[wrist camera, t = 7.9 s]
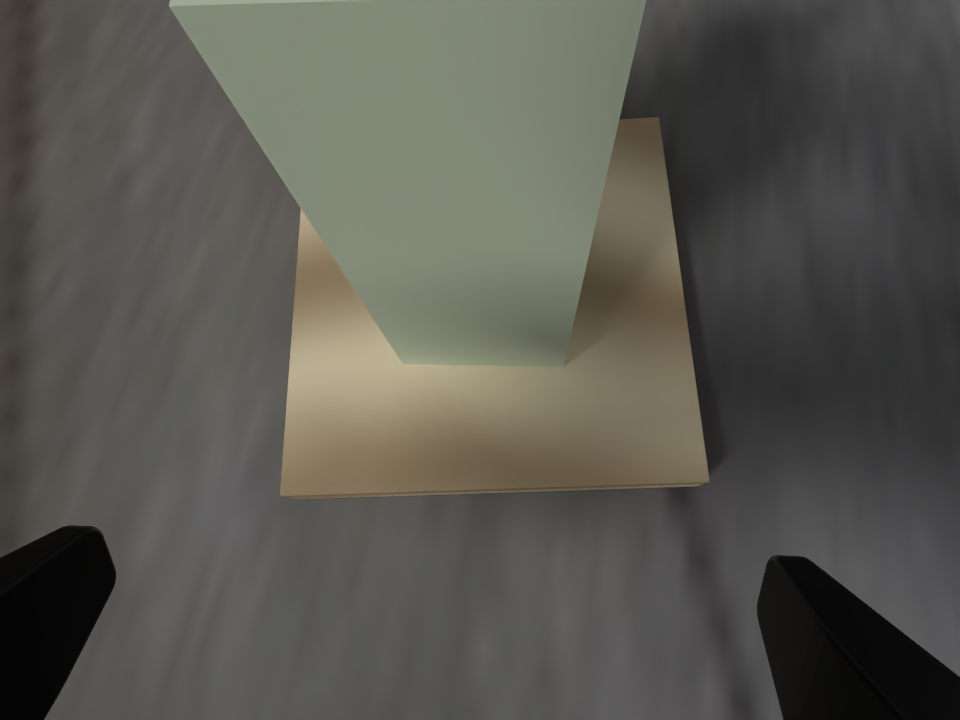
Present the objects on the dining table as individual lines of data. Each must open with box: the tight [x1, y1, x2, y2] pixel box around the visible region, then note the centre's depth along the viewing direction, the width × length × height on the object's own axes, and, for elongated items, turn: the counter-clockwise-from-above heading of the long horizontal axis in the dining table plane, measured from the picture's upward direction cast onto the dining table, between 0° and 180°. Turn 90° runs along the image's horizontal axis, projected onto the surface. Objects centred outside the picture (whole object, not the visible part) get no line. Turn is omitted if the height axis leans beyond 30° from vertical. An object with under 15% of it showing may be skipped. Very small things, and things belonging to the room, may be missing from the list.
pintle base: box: [280, 117, 710, 499], centre depth 17 cm, size 12×12×5 cm
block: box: [169, 0, 646, 367], centre depth 13 cm, size 5×5×12 cm
